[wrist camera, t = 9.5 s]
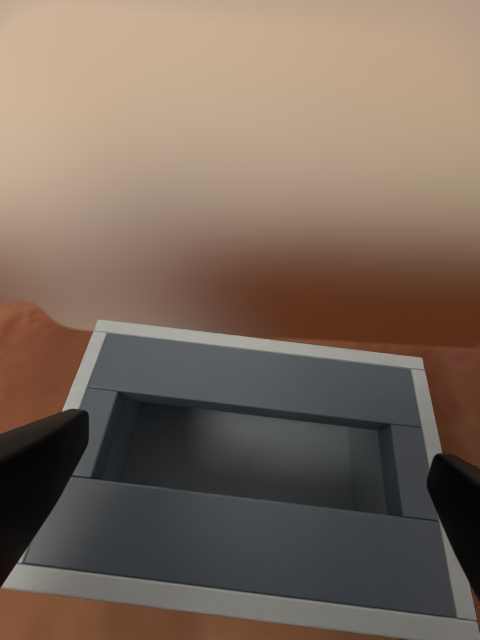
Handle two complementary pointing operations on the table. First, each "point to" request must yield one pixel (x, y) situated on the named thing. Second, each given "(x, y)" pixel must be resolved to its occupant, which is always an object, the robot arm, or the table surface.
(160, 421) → the grey hollow block
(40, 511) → the robot arm
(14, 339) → the table surface
